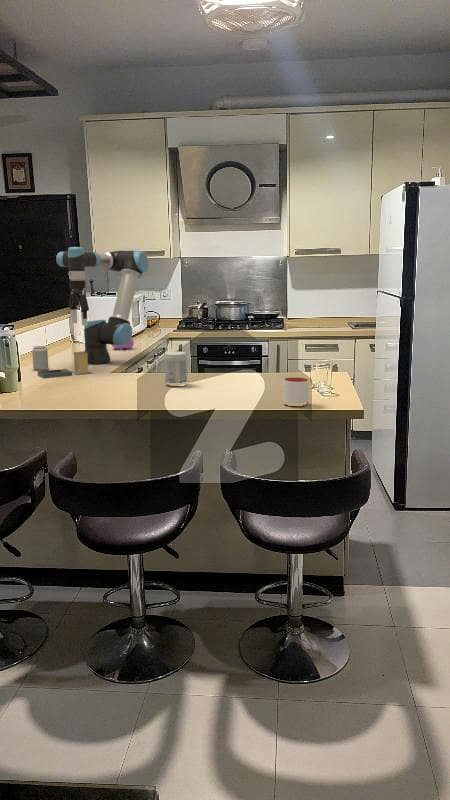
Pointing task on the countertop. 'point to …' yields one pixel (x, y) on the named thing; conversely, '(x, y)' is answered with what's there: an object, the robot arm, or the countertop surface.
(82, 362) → the nut block
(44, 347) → the can
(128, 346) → the teapot
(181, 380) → the supplement tub
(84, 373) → the rubber pad
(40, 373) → the dark grey flat slab
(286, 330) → the countertop surface
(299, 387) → the cup
